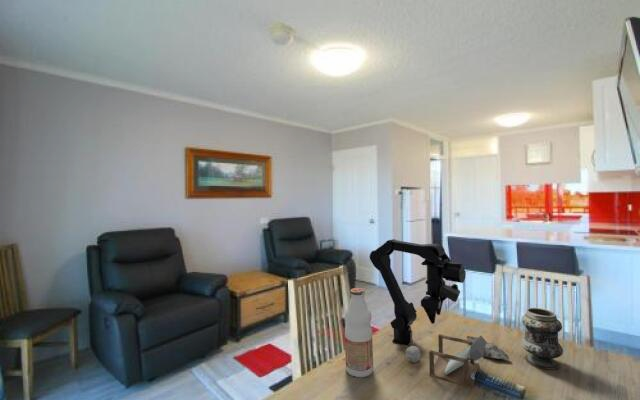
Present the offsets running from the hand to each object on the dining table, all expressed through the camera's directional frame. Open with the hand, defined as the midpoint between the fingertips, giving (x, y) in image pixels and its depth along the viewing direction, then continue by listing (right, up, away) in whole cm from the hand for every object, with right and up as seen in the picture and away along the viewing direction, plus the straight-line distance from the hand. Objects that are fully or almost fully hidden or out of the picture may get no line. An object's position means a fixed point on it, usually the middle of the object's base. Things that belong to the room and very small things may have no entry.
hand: (435, 319), depth 118 cm
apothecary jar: (+35, -13, -8) cm, 38 cm away
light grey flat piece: (+6, -8, -13) cm, 17 cm away
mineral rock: (+19, -13, -1) cm, 23 cm away
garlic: (-12, -11, -3) cm, 16 cm away
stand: (+2, -13, -11) cm, 17 cm away
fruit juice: (-30, -14, -10) cm, 35 cm away
